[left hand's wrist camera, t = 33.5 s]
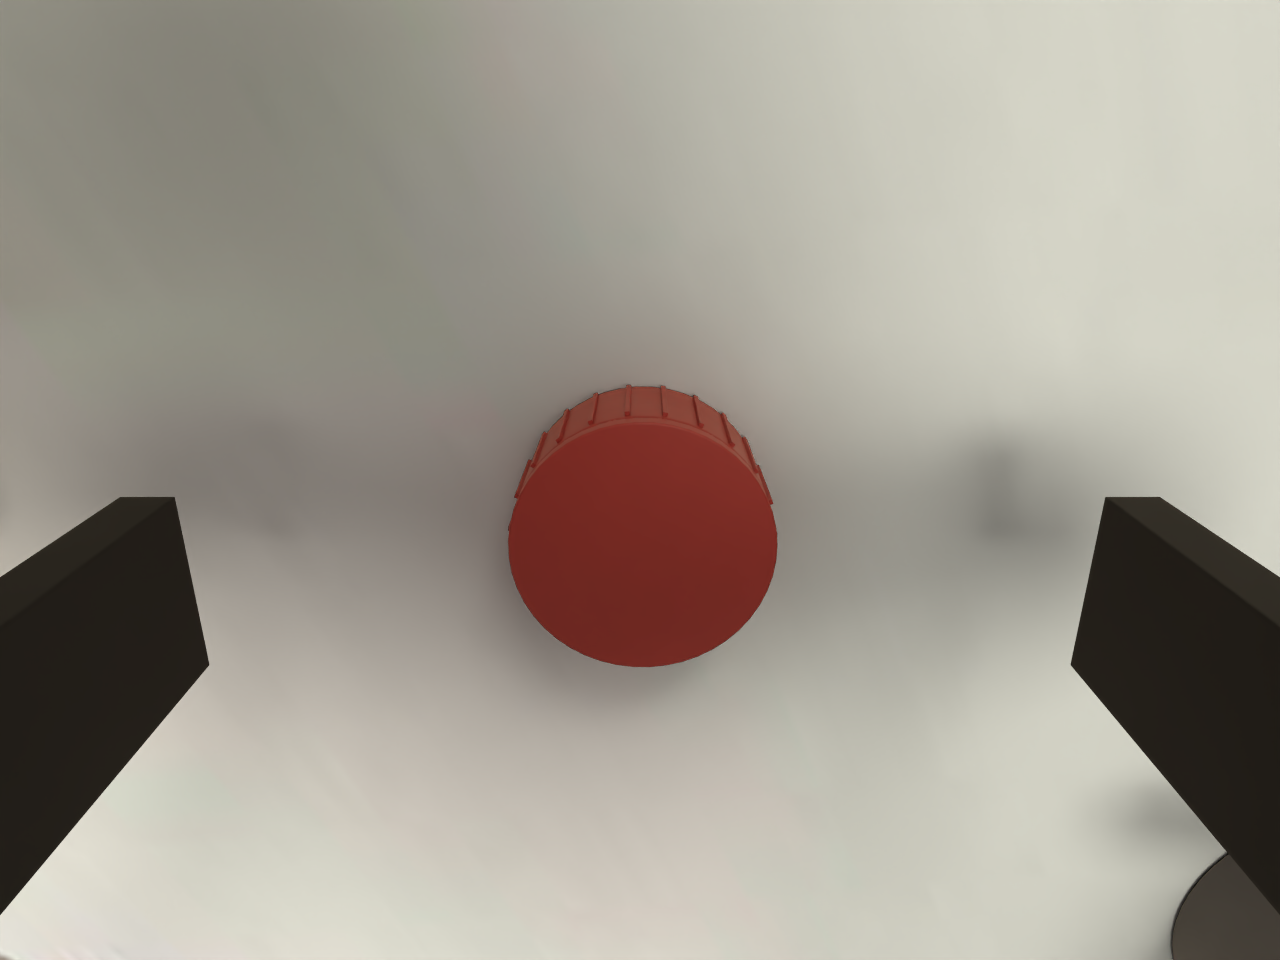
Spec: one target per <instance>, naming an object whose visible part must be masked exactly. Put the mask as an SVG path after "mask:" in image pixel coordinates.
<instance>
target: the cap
mask: <svg viewBox="0 0 1280 960" xmlns="http://www.w3.org/2000/svg"><path fill="white" fill-rule="evenodd" d="M514 498H517V502H516V504H515V507H514V510H513V514H512V518H511V521H510V524H509V527H508V531H509V538H508V549H509V561H510V566H511V571H512V575H513V578H514V581H515V584H516V587H517V589H518V591H519V593H520V595H521V597H522V599H523V601H524V603H525V604H526V606H527V607H528V609H529V610H530V612H531V613H532V614H533V616H534V617H535V618H536V619H537V620H538V621H539V623H540V624H541V625H542V626H543V627H544V628H545V629H546V630H547V631H548V632H550V633H551V634H552V635H553V636H554V637H555V638H556V639H558V640H559V641H561V642H562V643H564V644H565V645H567V646H568V647H570V648H572V649H574V650H576V651H578V652H580V653H582V654H583V655H586V656H588V657H591V658H594V659H597V660H599V661H603V662H607V663H611V664H615V665H622V666H630V667H655V666H664V665H670V664H674V663H679V662H683V661H686V660H689V659H692V658H695V657H698V656H700V655H702V654H704V653H706V652H708V651H710V650H712V649H714V648H715V647H717V646H719V645H720V644H722V643H723V642H725V641H726V640H728V639H729V638H730V637H731V636H733V635H734V634H735V633H736V632H737V631H739V630H740V629H741V627H742V626H743V625H744V624H745V623H746V622H747V621H748V620H749V619H750V618H751V616H752V615H753V614H754V612H755V611H756V609H757V608H758V607H759V605H760V604H761V602H762V600H763V598H764V596H765V594H766V592H767V590H768V588H769V585H770V582H771V579H772V577H773V573H774V568H775V564H776V556H777V531H776V525H775V521H774V516H773V512H772V509H771V506H770V505H771V504H773V501H772V498H771V496H770V493H769V490H768V488H767V485H766V482H765V480H764V477H763V475H762V472H761V469H760V467H759V465H756V463H755V460H754V457H753V454H752V452H751V449H750V446H749V444H748V441H747V439H746V437H743V438H742V437H741V436H740V434H739V433H738V432H737V430H736V429H735V428H734V427H733V426H732V425H731V424H730V423H729V422H728V420H727V417H726V415H725V414H724V413H722V414H719V413H718V412H717V411H716V410H714V409H713V408H712V407H710V406H708V405H707V404H705V403H703V402H701V401H700V400H699V399H698V396H695V395H694V396H693V397H691V396H688V395H686V394H684V393H680V392H676V391H673V390H669V389H666V387H665V386H661V388H656V387H631V385H627V386H626V388H622V389H617V390H613V391H609V392H605V393H602V394H600V395H598V393H595V394H593V397H592V398H590V399H588V400H586V401H584V402H582V403H581V404H579V405H577V406H575V407H574V408H573V409H571V410H570V411H569V409H566V410H565V411H564V414H563V416H562V417H561V418H560V419H559V420H558V421H557V422H556V423H555V424H554V425H553V426H552V427H551V429H550V430H549V431H548V432H547V433H546V432H544V433H543V434H542V436H541V439H540V441H539V444H538V447H537V449H536V452H535V454H534V457H533V459H532V460H528V462H527V465H526V468H525V470H524V473H523V475H522V478H521V481H520V483H519V486H518V488H517V491H516V494H515V496H514Z"/></svg>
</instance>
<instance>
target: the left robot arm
mask: <svg viewBox="0 0 1280 960" xmlns="http://www.w3.org/2000/svg"><path fill="white" fill-rule="evenodd" d="M208 666H209V661H208V656H207V651H206V646H205V641H204V637H203V632H202V627H201V622H200V617H199V612H198V608H197V603H196V598H195V593H194V588H193V584H192V579H191V574H190V569H189V564H188V559H187V555H186V550H185V545H184V540H183V535H182V531H181V526H180V521H179V516H178V511H177V506H176V502H175V497H120V498H118V499H117V500H115V501H114V502H112V503H111V504H109V505H108V506H106V507H105V508H103V509H102V510H100V511H99V512H97V513H96V514H94V515H93V516H91V517H90V518H88V519H87V520H85V521H84V522H82V523H81V524H79V525H78V526H76V527H75V528H73V529H72V530H70V531H69V532H67V533H66V534H64V535H63V536H61V537H60V538H58V539H57V540H55V541H54V542H52V543H51V544H49V545H48V546H46V547H45V548H43V549H42V550H40V551H39V552H37V553H36V554H34V555H33V556H31V557H30V558H28V559H27V560H25V561H24V562H22V563H21V564H19V565H18V566H16V567H15V568H13V569H12V570H10V571H9V572H7V573H6V574H4V575H3V576H1V577H0V915H1V914H2V912H3V911H4V910H5V909H6V908H7V906H8V905H9V904H10V903H11V902H12V900H13V899H14V898H15V897H16V896H17V894H18V893H19V892H20V891H21V890H22V888H23V887H24V886H25V885H26V884H27V882H28V881H29V880H30V879H31V878H32V876H33V875H34V874H35V873H36V872H37V870H38V869H39V868H40V867H41V866H42V864H43V863H44V862H45V861H46V860H47V858H48V857H49V856H50V855H51V854H52V852H53V851H54V850H55V849H56V848H57V847H58V845H59V844H60V843H61V842H62V841H63V839H64V838H65V837H66V836H67V835H68V833H69V832H70V831H71V830H72V829H73V827H74V826H75V825H76V824H77V823H78V821H79V820H80V819H81V818H82V817H83V815H84V814H85V813H86V812H87V811H88V809H89V808H90V807H91V806H92V805H93V803H94V802H95V801H96V800H97V799H98V797H99V796H100V795H101V794H102V793H103V791H104V790H105V789H106V788H107V787H108V786H109V784H110V783H111V782H112V781H113V780H114V778H115V777H116V776H117V775H118V774H119V772H120V771H121V770H122V769H123V768H124V766H125V765H126V764H127V763H128V762H129V760H130V759H131V758H132V757H133V756H134V754H135V753H136V752H137V751H138V750H139V748H140V747H141V746H142V745H143V744H144V742H145V741H146V740H147V739H148V738H149V736H150V735H151V734H152V733H153V732H154V730H155V729H156V728H157V727H158V726H159V724H160V723H161V722H162V721H163V720H164V719H165V717H166V716H167V715H168V714H169V713H170V711H171V710H172V709H173V708H174V707H175V705H176V704H177V703H178V702H179V701H180V699H181V698H182V697H183V696H184V695H185V693H186V692H187V691H188V690H189V689H190V687H191V686H192V685H193V684H194V683H195V681H196V680H197V679H198V678H199V677H200V675H201V674H202V673H203V672H204V671H205V669H206V668H207V667H208ZM1071 666H1072V667H1073V668H1074V669H1075V671H1076V672H1077V673H1078V674H1079V675H1080V677H1081V678H1082V679H1083V680H1084V681H1085V683H1086V684H1087V685H1088V686H1089V687H1090V689H1091V690H1092V691H1093V692H1094V693H1095V695H1096V696H1097V697H1098V698H1099V699H1100V701H1101V702H1102V703H1103V704H1104V705H1105V707H1106V708H1107V709H1108V710H1109V711H1110V713H1111V714H1112V715H1113V716H1114V717H1115V719H1116V720H1117V721H1118V722H1119V723H1120V725H1121V726H1122V727H1123V728H1124V729H1125V730H1126V732H1127V733H1128V734H1129V735H1130V736H1131V738H1132V739H1133V740H1134V741H1135V742H1136V744H1137V745H1138V746H1139V747H1140V748H1141V750H1142V751H1143V752H1144V753H1145V754H1146V756H1147V757H1148V758H1149V759H1150V760H1151V762H1152V763H1153V764H1154V765H1155V766H1156V768H1157V769H1158V770H1159V771H1160V772H1161V774H1162V775H1163V776H1164V777H1165V778H1166V780H1167V781H1168V782H1169V783H1170V784H1171V786H1172V787H1173V788H1174V789H1175V790H1176V791H1177V793H1178V794H1179V795H1180V796H1181V797H1182V799H1183V800H1184V801H1185V802H1186V803H1187V805H1188V806H1189V807H1190V808H1191V809H1192V811H1193V812H1194V813H1195V814H1196V815H1197V817H1198V818H1199V819H1200V820H1201V821H1202V823H1203V824H1204V825H1205V826H1206V827H1207V829H1208V830H1209V831H1210V832H1211V833H1212V835H1213V836H1214V837H1215V838H1216V839H1217V841H1218V842H1219V843H1220V844H1221V845H1222V847H1223V848H1224V849H1225V850H1226V851H1227V852H1228V854H1229V855H1230V856H1231V857H1232V858H1233V860H1234V861H1235V862H1236V863H1237V864H1238V866H1239V867H1240V868H1241V869H1242V870H1243V872H1244V873H1245V874H1246V875H1247V876H1248V878H1249V879H1250V880H1251V881H1252V882H1253V884H1254V885H1255V886H1256V887H1257V888H1258V890H1259V891H1260V892H1261V893H1262V894H1263V896H1264V897H1265V898H1266V899H1267V900H1268V902H1269V903H1270V904H1271V905H1272V906H1273V908H1274V909H1275V910H1276V911H1277V912H1278V914H1279V915H1280V577H1279V576H1277V575H1276V574H1274V573H1273V572H1271V571H1270V570H1268V569H1267V568H1265V567H1264V566H1262V565H1261V564H1259V563H1258V562H1256V561H1255V560H1253V559H1252V558H1250V557H1249V556H1247V555H1246V554H1244V553H1243V552H1241V551H1240V550H1238V549H1237V548H1235V547H1234V546H1232V545H1231V544H1229V543H1228V542H1226V541H1225V540H1223V539H1222V538H1220V537H1219V536H1217V535H1216V534H1214V533H1213V532H1211V531H1210V530H1208V529H1207V528H1205V527H1204V526H1202V525H1201V524H1199V523H1198V522H1196V521H1195V520H1193V519H1192V518H1190V517H1189V516H1187V515H1186V514H1184V513H1183V512H1181V511H1180V510H1178V509H1177V508H1175V507H1174V506H1172V505H1171V504H1169V503H1168V502H1166V501H1165V500H1163V499H1162V498H1160V497H1105V502H1104V506H1103V511H1102V516H1101V521H1100V526H1099V531H1098V535H1097V540H1096V545H1095V550H1094V555H1093V559H1092V564H1091V569H1090V574H1089V579H1088V584H1087V588H1086V593H1085V598H1084V603H1083V608H1082V612H1081V617H1080V622H1079V627H1078V632H1077V637H1076V641H1075V646H1074V651H1073V656H1072V661H1071Z"/></svg>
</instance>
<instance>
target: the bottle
mask: <svg viewBox="0 0 1280 960" xmlns="http://www.w3.org/2000/svg"><path fill="white" fill-rule="evenodd" d="M1172 949H1173V957H1174V960H1280V915H1279V914H1278V912H1277V911H1276V910H1275V909H1274V908H1273V906H1272V905H1271V904H1270V903H1269V902H1268V900H1267V899H1266V898H1265V897H1264V896H1263V894H1262V893H1261V892H1260V891H1259V890H1258V888H1257V887H1256V886H1255V885H1254V884H1253V882H1252V881H1251V880H1250V879H1249V878H1248V876H1247V875H1246V874H1245V873H1244V872H1243V870H1242V869H1241V868H1240V867H1239V866H1238V864H1237V863H1236V862H1235V861H1234V860H1233V858H1232V857H1231V856H1230V855H1229V854H1228V855H1227V856H1225V857H1224V858H1223V859H1222V860H1220V861H1219V862H1218V863H1217V864H1216V865H1214V866H1213V867H1212V868H1211V869H1210V870H1209V871H1208V872H1207V873H1206V874H1205V875H1204V876H1203V877H1202V878H1201V879H1200V880H1199V881H1198V883H1197V884H1196V885H1195V887H1194V888H1193V889H1192V891H1191V892H1190V893H1189V895H1188V896H1187V898H1186V900H1185V902H1184V903H1183V905H1182V907H1181V909H1180V912H1179V914H1178V917H1177V919H1176V923H1175V927H1174V931H1173V942H1172Z"/></svg>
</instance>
